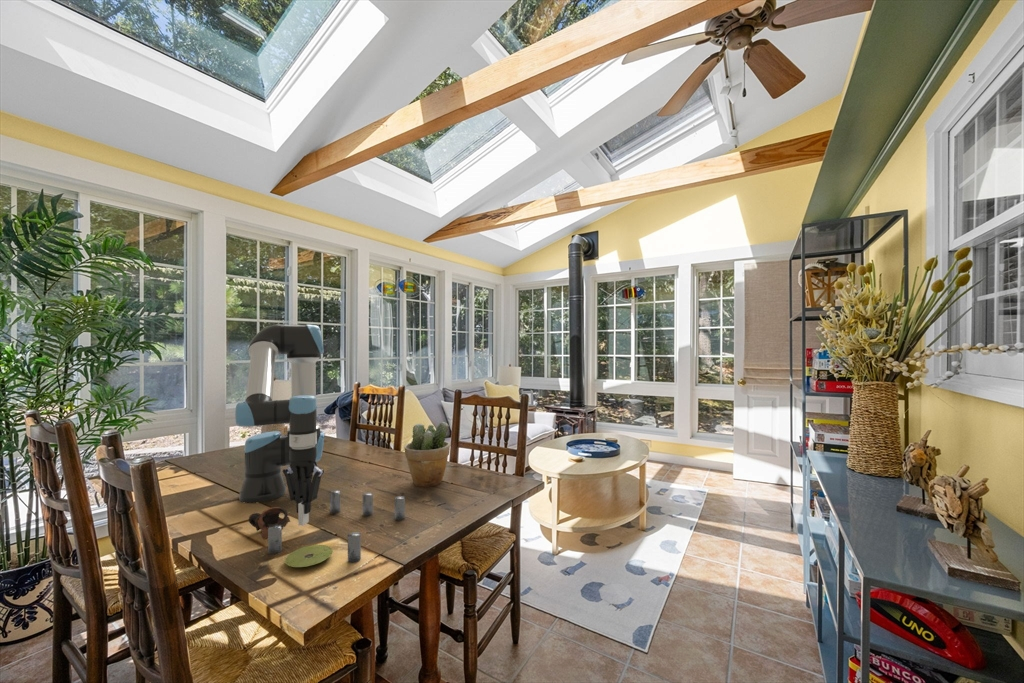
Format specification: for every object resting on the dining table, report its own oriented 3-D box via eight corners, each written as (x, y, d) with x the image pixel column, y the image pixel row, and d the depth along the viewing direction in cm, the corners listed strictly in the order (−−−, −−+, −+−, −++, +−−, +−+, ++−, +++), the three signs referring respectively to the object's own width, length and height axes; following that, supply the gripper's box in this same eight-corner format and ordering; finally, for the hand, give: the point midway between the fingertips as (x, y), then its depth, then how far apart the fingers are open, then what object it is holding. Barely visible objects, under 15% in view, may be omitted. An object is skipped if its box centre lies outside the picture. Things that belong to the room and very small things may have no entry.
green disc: (330, 547, 116) (330, 540, 116) (334, 566, 106) (334, 559, 106) (285, 558, 111) (285, 550, 111) (284, 579, 101) (284, 571, 101)
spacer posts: (265, 555, 112) (265, 529, 112) (334, 510, 142) (334, 489, 142) (356, 565, 107) (356, 538, 107) (408, 516, 137) (407, 495, 137)
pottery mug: (295, 523, 132) (295, 505, 128) (281, 550, 123) (281, 531, 120) (255, 518, 130) (255, 499, 127) (238, 544, 122) (237, 525, 118)
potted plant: (404, 493, 158) (404, 427, 158) (404, 477, 176) (403, 418, 176) (452, 488, 163) (452, 424, 163) (447, 473, 181) (447, 416, 181)
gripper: (275, 448, 125) (276, 527, 125) (313, 450, 122) (314, 530, 122) (293, 442, 132) (294, 516, 132) (329, 444, 129) (330, 520, 129)
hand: (303, 523), depth 127 cm, fingers closed
